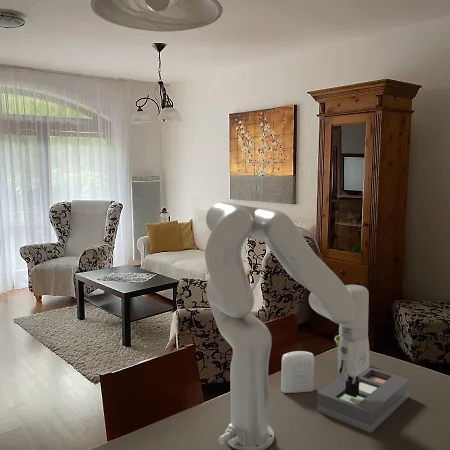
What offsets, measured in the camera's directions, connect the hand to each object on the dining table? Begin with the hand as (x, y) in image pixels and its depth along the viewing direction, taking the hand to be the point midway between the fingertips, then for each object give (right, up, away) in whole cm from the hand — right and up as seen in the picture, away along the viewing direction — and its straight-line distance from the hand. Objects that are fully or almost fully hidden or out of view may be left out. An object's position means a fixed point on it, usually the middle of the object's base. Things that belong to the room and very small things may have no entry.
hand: (352, 394), depth 127 cm
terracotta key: (+11, -2, +12) cm, 16 cm away
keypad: (+5, -5, +7) cm, 10 cm away
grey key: (+5, -2, +6) cm, 8 cm away
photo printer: (-13, -4, +15) cm, 20 cm away
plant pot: (+8, -2, +34) cm, 35 cm away
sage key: (0, -3, 0) cm, 3 cm away
